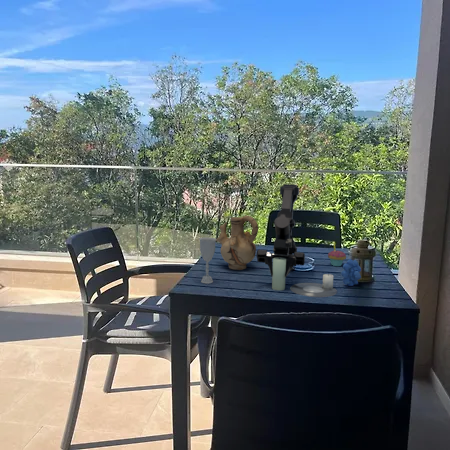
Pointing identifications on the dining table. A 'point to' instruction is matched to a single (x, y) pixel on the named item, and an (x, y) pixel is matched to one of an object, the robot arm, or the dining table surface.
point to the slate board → (312, 290)
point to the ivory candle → (327, 281)
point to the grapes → (351, 272)
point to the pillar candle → (278, 274)
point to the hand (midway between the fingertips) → (278, 276)
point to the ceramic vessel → (238, 242)
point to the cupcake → (336, 257)
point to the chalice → (207, 255)
